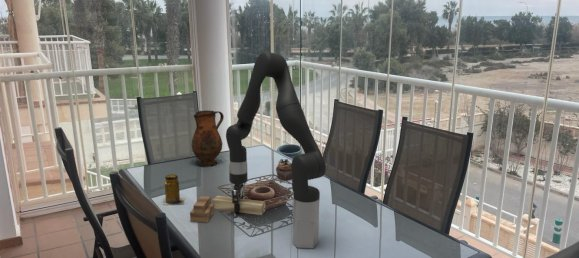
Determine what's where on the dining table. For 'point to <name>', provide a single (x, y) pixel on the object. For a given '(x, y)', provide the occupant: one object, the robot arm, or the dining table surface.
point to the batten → (245, 205)
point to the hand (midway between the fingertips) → (238, 207)
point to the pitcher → (207, 138)
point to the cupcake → (284, 170)
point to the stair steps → (202, 210)
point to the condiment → (172, 190)
